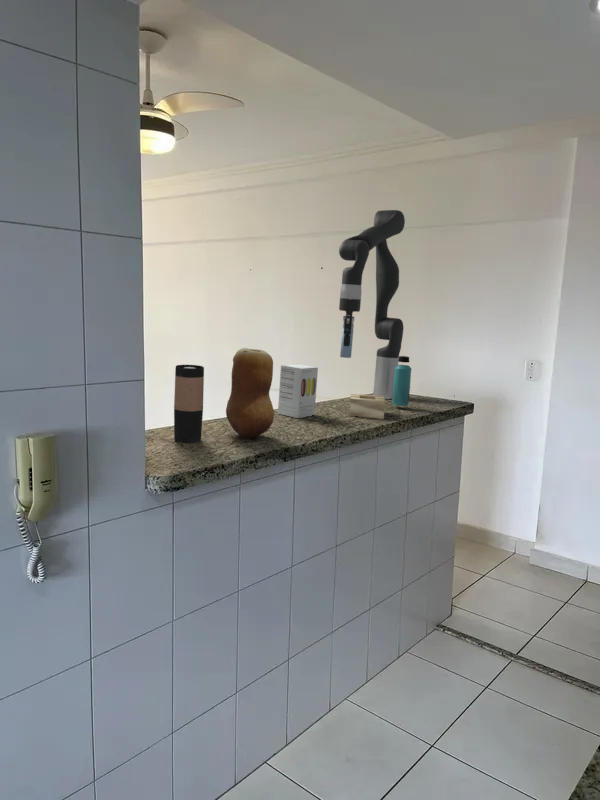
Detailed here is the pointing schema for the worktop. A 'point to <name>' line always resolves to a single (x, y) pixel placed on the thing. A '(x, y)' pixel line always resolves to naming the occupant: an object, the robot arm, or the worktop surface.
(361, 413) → the socket block
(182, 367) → the travel mug
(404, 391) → the beverage bottle
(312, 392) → the supplement box
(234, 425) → the butternut squash
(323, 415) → the worktop surface
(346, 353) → the peg
